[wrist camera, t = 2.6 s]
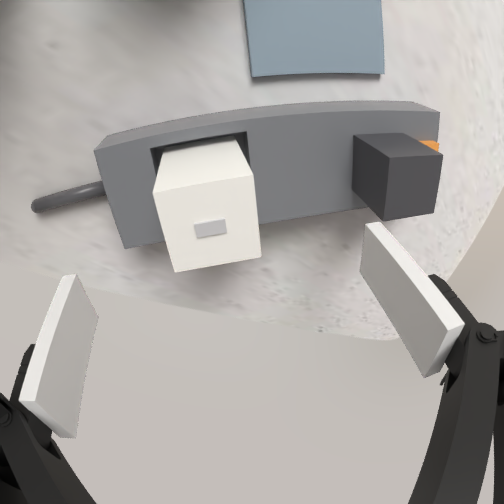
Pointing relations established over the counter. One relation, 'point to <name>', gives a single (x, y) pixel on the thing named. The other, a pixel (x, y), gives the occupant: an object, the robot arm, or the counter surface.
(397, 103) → the strip
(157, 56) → the counter surface
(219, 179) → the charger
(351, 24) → the mat
